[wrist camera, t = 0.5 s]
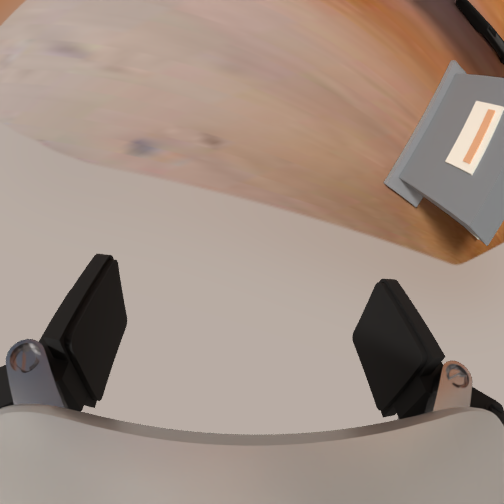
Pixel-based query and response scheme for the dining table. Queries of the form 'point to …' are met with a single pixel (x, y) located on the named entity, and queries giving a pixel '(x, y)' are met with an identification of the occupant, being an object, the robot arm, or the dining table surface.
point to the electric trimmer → (482, 26)
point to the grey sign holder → (458, 153)
